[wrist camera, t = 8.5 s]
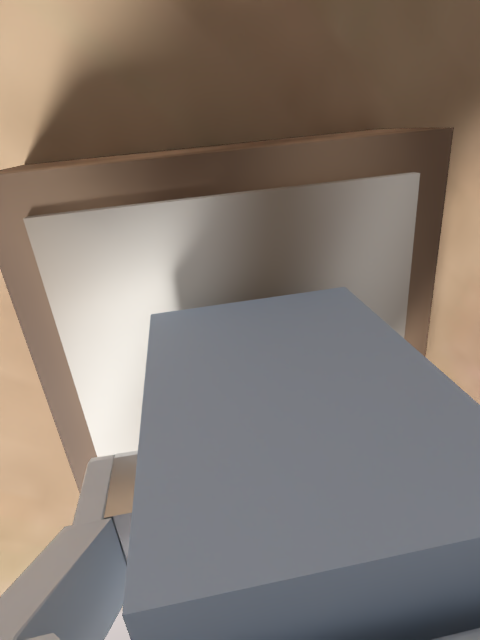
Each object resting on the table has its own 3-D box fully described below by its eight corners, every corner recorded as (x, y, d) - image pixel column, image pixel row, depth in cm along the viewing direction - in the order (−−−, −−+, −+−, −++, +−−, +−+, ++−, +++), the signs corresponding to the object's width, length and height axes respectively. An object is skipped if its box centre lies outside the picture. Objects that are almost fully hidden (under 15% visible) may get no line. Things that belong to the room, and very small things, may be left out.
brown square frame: (381, 128, 14) (461, 127, 10) (366, 407, 19) (415, 475, 16) (23, 165, 13) (-38, 179, 9) (108, 452, 18) (92, 539, 14)
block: (344, 286, 11) (600, 510, 4) (341, 436, 13) (508, 731, 6) (150, 314, 10) (121, 615, 4) (181, 465, 12) (193, 818, 6)
